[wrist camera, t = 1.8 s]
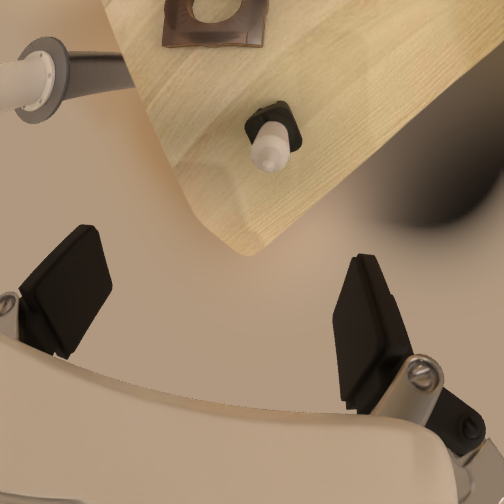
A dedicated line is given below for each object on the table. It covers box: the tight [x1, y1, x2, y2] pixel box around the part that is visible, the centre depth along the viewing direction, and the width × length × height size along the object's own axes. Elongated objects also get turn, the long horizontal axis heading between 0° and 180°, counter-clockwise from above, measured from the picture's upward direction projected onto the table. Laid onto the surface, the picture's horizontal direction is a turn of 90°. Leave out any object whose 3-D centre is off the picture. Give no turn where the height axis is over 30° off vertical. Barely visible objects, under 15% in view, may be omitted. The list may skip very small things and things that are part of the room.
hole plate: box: [162, 0, 269, 48], centre depth 27 cm, size 14×14×2 cm
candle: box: [245, 101, 302, 172], centre depth 27 cm, size 5×5×25 cm
